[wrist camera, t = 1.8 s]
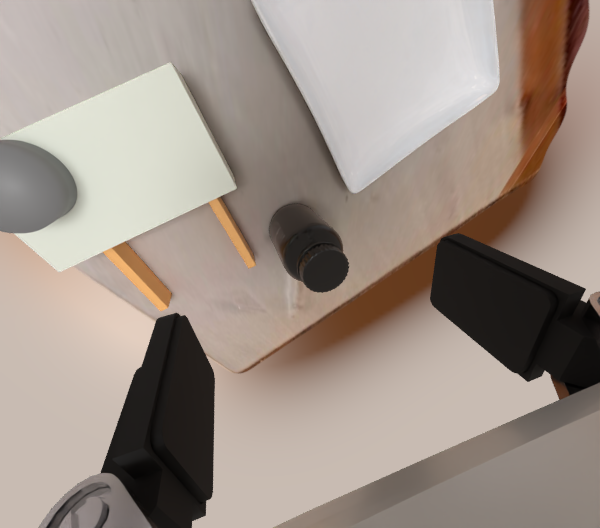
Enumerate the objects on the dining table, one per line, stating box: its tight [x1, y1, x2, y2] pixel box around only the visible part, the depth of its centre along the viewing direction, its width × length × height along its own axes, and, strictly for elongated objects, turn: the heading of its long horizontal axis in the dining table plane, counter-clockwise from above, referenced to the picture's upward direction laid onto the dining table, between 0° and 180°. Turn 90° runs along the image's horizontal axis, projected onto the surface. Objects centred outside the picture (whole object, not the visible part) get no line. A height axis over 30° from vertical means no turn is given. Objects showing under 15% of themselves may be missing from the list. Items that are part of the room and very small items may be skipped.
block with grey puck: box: [0, 62, 256, 311], centre depth 25 cm, size 18×20×9 cm
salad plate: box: [251, 0, 499, 194], centre depth 26 cm, size 21×21×3 cm
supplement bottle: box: [269, 204, 349, 293], centre depth 29 cm, size 7×7×12 cm
